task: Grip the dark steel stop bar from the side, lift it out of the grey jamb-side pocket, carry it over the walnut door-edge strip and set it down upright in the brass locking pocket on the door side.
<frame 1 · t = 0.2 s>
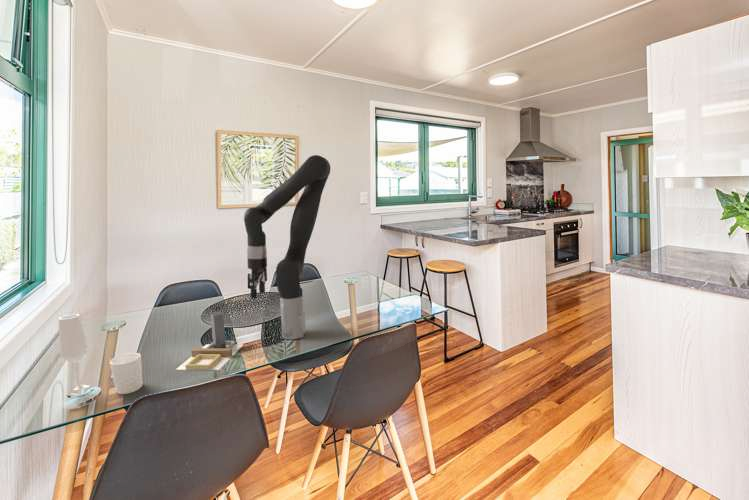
hand: (258, 295, 148), 18 cm above the table, tool pointing down, fingers open, 8 cm apart
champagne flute: (81, 392, 110), on the table
stop bar: (219, 349, 136), point 1 cm above the table, touching lock plate
lock plate: (212, 358, 130), on the table
white cup: (129, 389, 111), on the table
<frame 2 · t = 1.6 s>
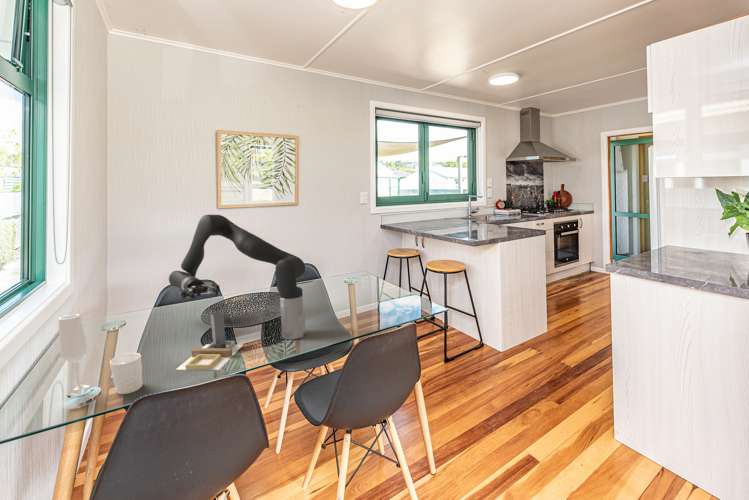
hand: (205, 294, 141), 20 cm above the table, tool horizontal, fingers open, 8 cm apart
nothing on the table moved.
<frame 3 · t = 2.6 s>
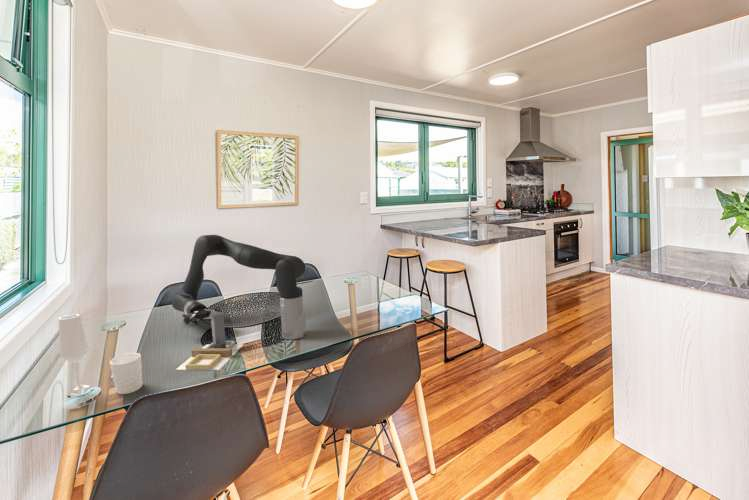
hand: (208, 319, 143), 10 cm above the table, tool horizontal, fingers open, 8 cm apart
nothing on the table moved.
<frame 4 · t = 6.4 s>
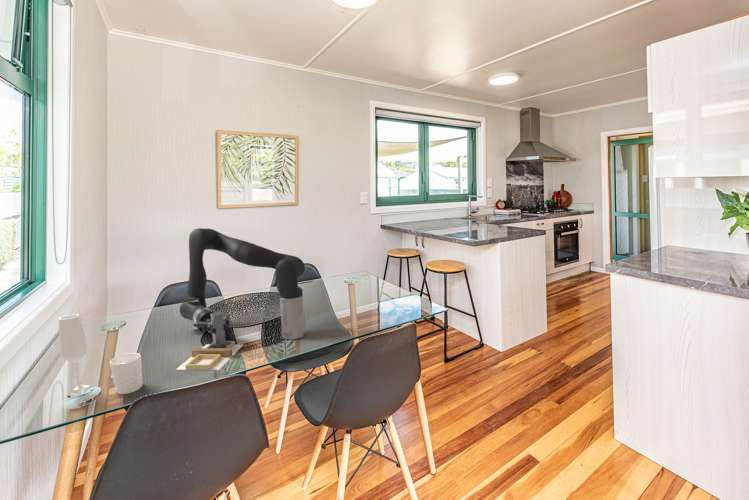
hand: (220, 329, 133), 9 cm above the table, tool horizontal, fingers closed on stop bar, 3 cm apart
stop bar: (219, 349, 136), point 1 cm above the table, touching gripper, lock plate
everything else where it was.
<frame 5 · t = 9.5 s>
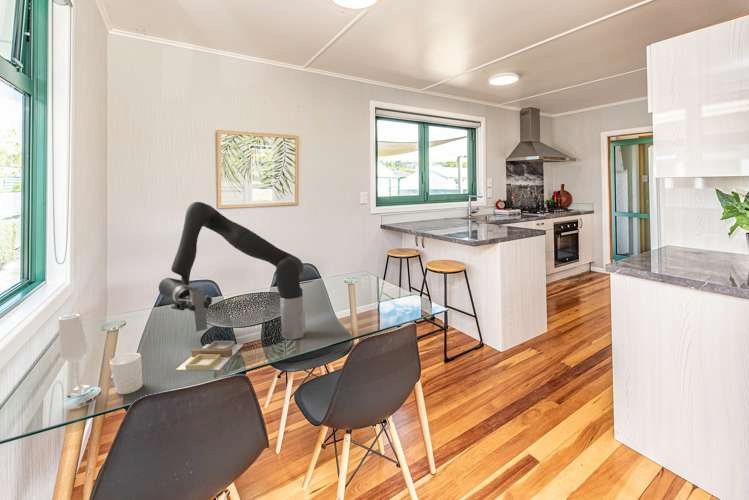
hand: (200, 306, 119), 22 cm above the table, tool horizontal, fingers closed on stop bar, 3 cm apart
stop bar: (200, 328, 123), point 14 cm above the table, touching gripper
everything else where it was.
when the fingers open (11 cm above the table, at t = 12.7 s): stop bar drops 1 cm, resting on lock plate.
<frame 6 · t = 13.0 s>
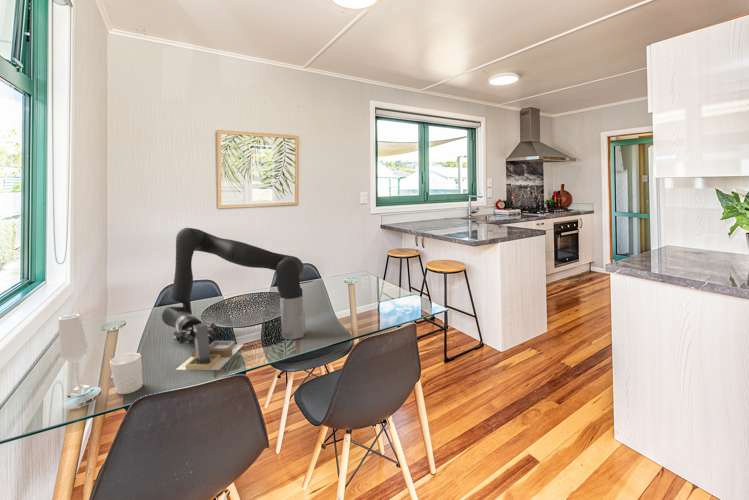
hand: (203, 338, 121), 11 cm above the table, tool horizontal, fingers open, 6 cm apart
stop bar: (203, 363, 125), point 1 cm above the table, touching lock plate
everything else where it was.
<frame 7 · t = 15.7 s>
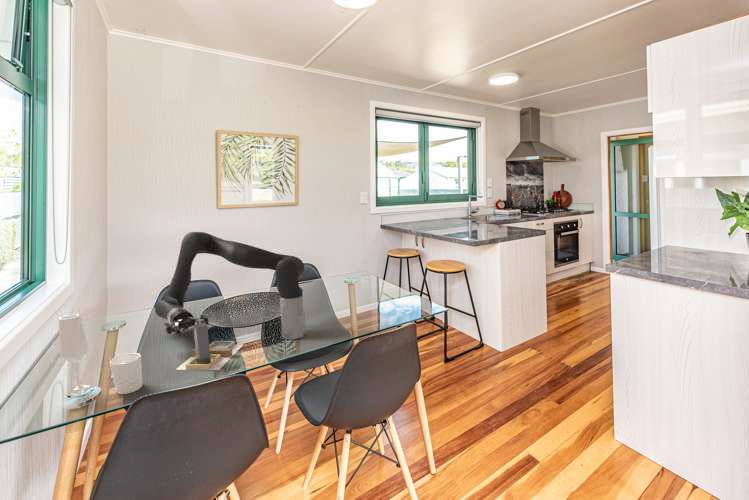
hand: (192, 329, 130), 11 cm above the table, tool horizontal, fingers open, 8 cm apart
nothing on the table moved.
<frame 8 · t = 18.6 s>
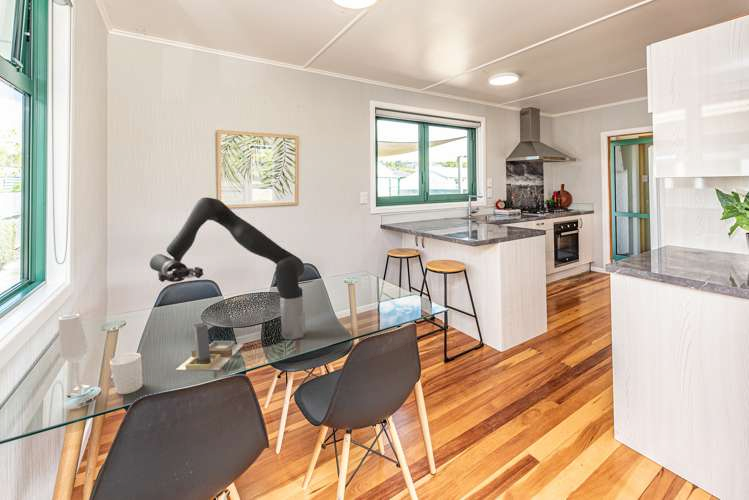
hand: (186, 277, 128), 30 cm above the table, tool horizontal, fingers open, 8 cm apart
nothing on the table moved.
at the end: stop bar 0.0 cm from the target spot on the lock plate, point 1.0 cm above the lock plate's base; stop bar tilted 0°; the gripper is holding nothing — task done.
